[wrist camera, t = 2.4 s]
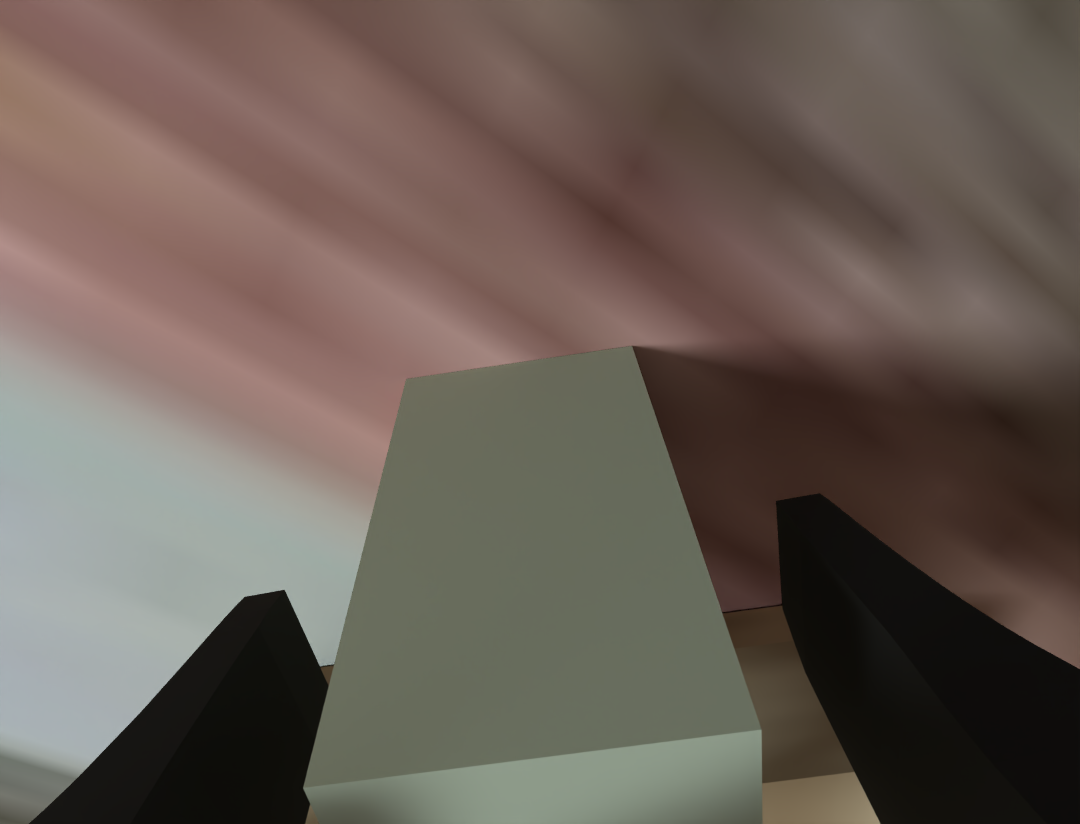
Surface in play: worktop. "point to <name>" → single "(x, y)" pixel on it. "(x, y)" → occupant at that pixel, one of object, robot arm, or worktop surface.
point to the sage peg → (534, 619)
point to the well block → (785, 730)
